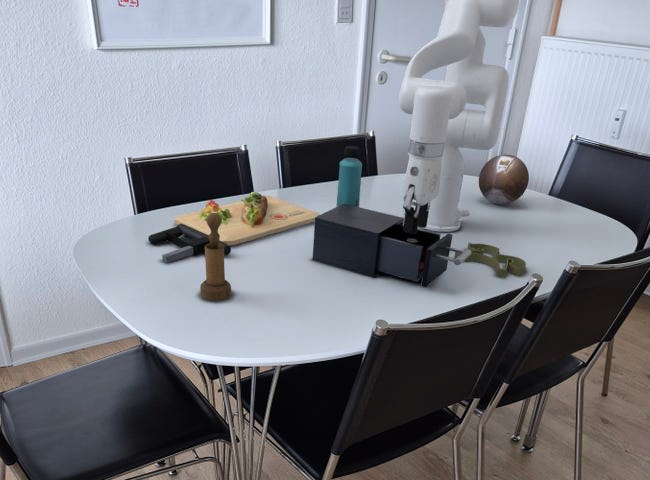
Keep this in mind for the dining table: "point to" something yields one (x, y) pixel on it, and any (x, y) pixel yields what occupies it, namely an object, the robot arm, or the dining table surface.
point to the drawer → (416, 254)
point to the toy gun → (184, 242)
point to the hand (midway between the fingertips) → (414, 228)
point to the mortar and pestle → (215, 265)
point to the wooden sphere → (503, 179)
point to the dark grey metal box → (351, 237)
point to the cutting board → (249, 218)
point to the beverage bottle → (349, 178)
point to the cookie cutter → (495, 259)
